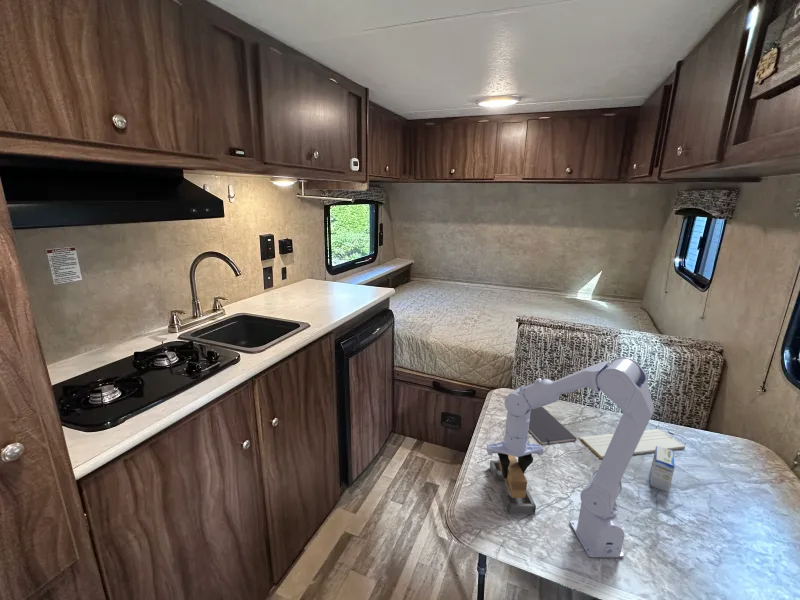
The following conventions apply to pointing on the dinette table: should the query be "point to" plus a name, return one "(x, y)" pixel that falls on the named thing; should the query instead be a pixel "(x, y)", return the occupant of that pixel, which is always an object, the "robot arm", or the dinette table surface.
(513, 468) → the brown wooden block
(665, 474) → the medicine box
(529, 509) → the end caps
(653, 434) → the baseboard molding
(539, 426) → the notebook
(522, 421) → the robot arm
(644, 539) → the dinette table surface
